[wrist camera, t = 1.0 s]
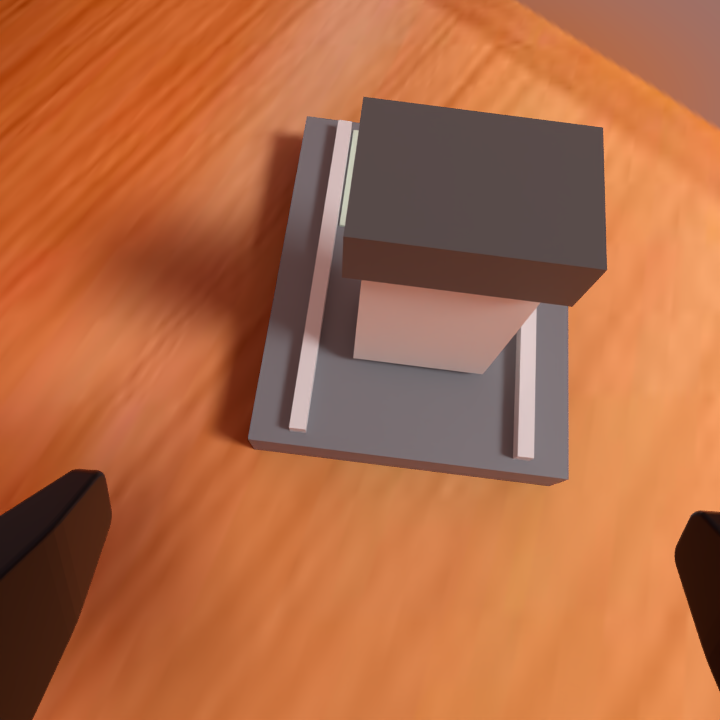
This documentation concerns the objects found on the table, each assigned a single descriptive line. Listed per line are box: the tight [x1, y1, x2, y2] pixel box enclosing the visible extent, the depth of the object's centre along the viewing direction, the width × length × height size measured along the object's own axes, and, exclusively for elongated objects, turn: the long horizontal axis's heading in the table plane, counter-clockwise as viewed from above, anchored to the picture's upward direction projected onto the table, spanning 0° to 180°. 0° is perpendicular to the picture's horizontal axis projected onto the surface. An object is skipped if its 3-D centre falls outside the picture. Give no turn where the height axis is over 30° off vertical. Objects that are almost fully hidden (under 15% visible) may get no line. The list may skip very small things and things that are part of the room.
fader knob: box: [342, 97, 607, 374], centre depth 18 cm, size 4×6×10 cm, turn 83°
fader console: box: [248, 116, 568, 486], centre depth 25 cm, size 15×12×3 cm
